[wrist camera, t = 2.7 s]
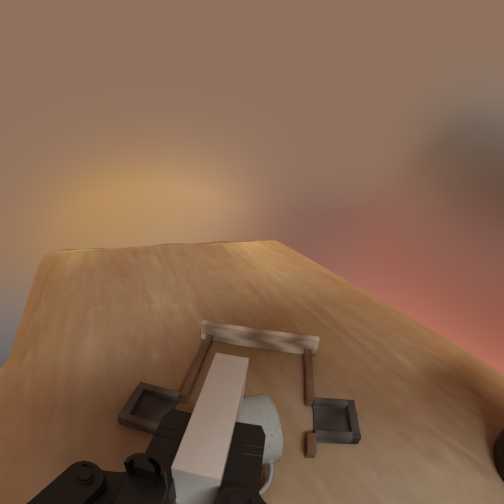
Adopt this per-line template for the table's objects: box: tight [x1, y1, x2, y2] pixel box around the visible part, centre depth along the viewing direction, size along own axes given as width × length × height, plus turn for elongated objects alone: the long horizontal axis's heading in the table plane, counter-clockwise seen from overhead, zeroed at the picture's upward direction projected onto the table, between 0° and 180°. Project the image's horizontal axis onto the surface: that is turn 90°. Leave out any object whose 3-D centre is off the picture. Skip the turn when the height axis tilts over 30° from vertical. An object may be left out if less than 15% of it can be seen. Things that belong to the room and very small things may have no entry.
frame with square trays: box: [118, 320, 361, 458], centre depth 40 cm, size 28×23×3 cm
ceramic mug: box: [191, 394, 283, 495], centre depth 27 cm, size 11×8×8 cm
